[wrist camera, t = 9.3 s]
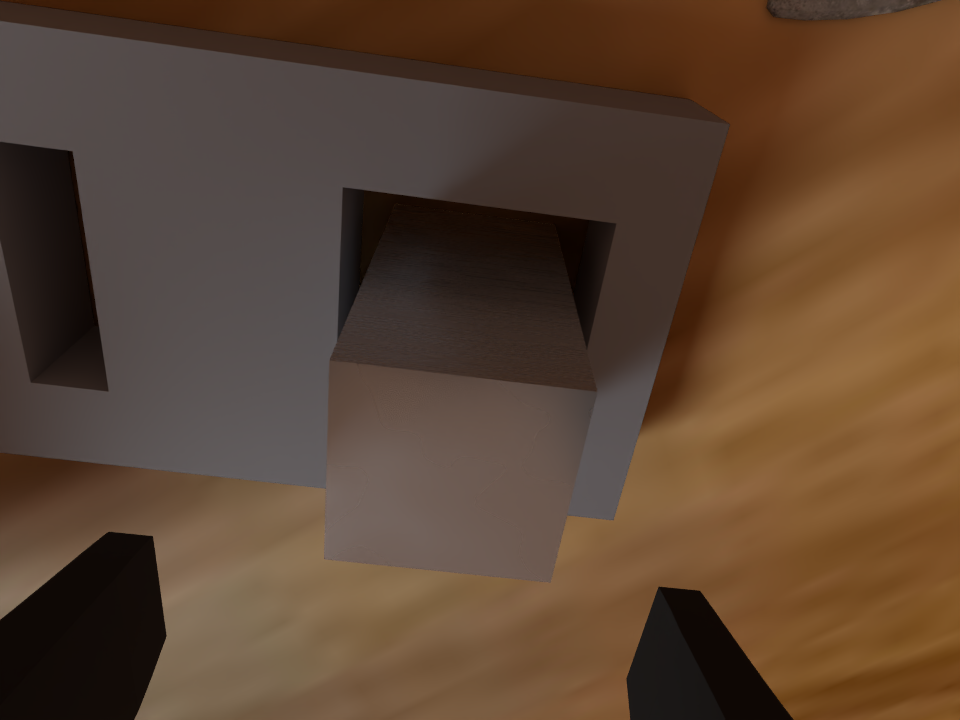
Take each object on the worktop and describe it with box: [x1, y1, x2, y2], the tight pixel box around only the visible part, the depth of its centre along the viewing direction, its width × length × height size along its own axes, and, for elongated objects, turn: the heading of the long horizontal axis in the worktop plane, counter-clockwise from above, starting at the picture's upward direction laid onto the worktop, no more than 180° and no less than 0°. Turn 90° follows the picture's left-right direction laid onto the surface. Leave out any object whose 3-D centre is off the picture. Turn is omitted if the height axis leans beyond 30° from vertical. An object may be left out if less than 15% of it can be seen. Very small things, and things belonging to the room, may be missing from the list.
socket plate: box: [0, 1, 730, 520], centre depth 17 cm, size 18×10×3 cm, turn 83°
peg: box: [324, 204, 597, 583], centre depth 15 cm, size 4×4×8 cm
